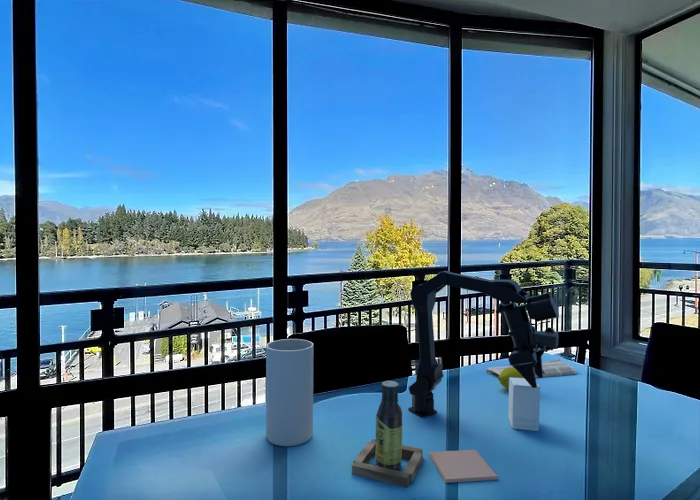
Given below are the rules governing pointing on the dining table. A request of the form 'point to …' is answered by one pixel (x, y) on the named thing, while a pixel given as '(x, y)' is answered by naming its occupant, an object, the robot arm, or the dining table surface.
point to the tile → (462, 466)
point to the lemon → (508, 376)
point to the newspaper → (548, 368)
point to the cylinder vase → (289, 392)
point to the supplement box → (523, 405)
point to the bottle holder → (386, 474)
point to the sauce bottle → (389, 428)
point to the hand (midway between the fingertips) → (538, 382)
